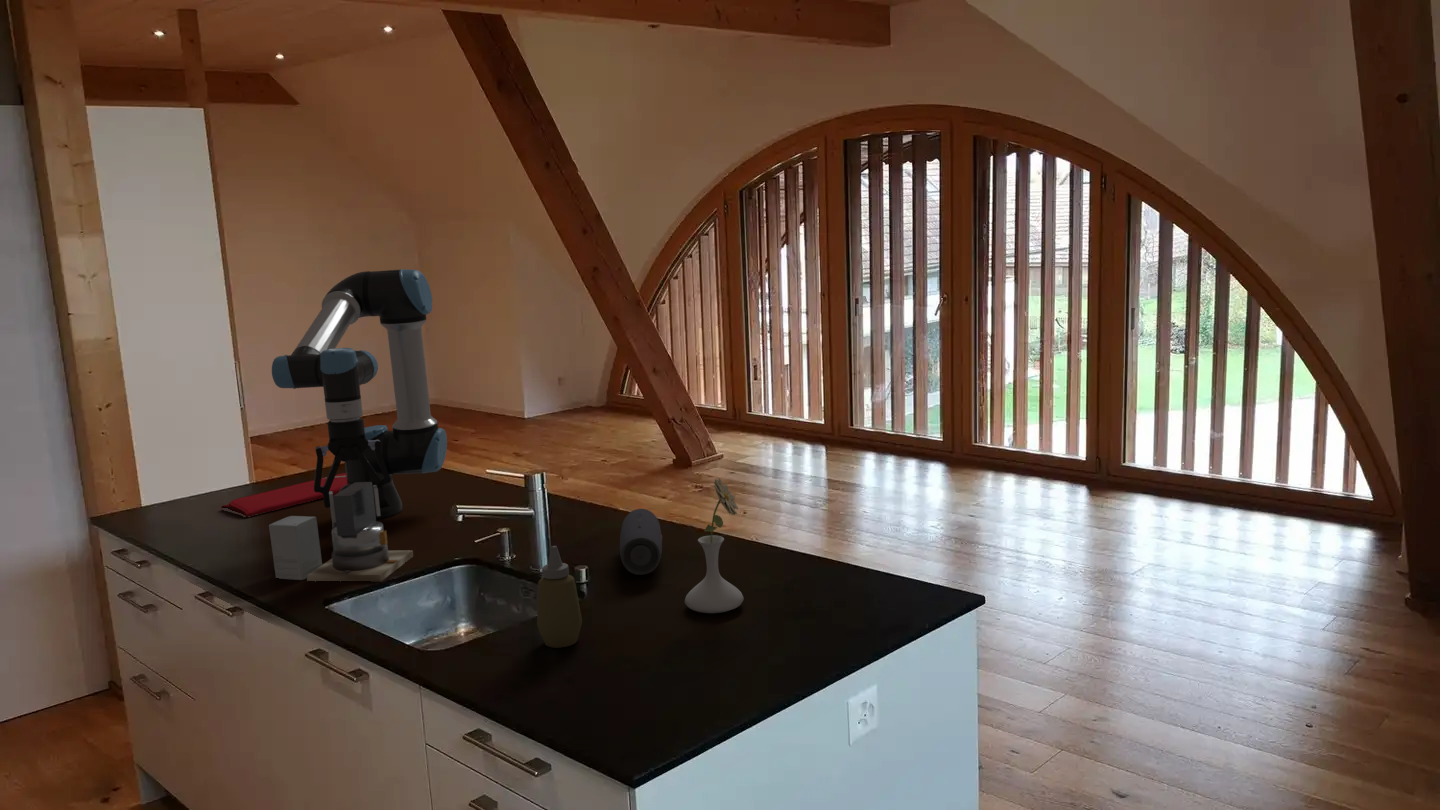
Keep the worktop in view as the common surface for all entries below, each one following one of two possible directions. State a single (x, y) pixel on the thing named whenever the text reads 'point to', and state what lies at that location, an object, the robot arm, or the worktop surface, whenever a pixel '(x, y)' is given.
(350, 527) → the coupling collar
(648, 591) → the worktop surface
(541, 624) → the squeeze bottle
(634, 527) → the bluetooth speaker
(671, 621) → the worktop surface
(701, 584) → the flower in vase
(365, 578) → the post board
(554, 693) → the worktop surface
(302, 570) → the supplement box
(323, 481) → the dish drying mat
